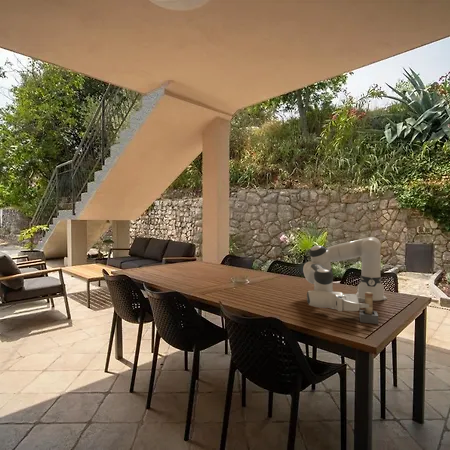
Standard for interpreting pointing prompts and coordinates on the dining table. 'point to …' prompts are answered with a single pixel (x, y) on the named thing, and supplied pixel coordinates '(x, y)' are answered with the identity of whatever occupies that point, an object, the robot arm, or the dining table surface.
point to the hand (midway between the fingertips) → (368, 303)
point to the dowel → (369, 302)
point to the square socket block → (368, 317)
